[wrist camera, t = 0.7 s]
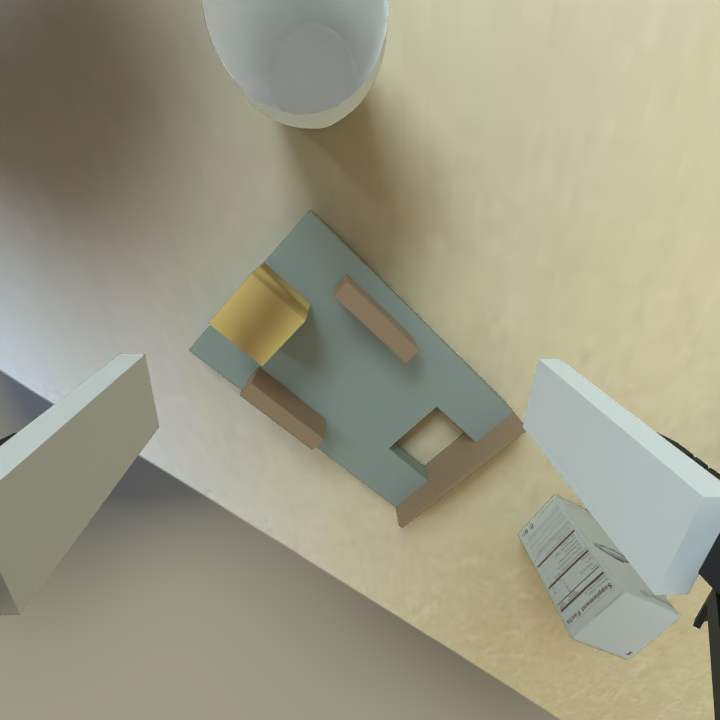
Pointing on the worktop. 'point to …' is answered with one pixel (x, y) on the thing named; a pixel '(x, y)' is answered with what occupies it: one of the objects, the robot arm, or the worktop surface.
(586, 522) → the supplement box
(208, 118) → the worktop surface
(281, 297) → the ochre block
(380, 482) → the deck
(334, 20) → the cup
